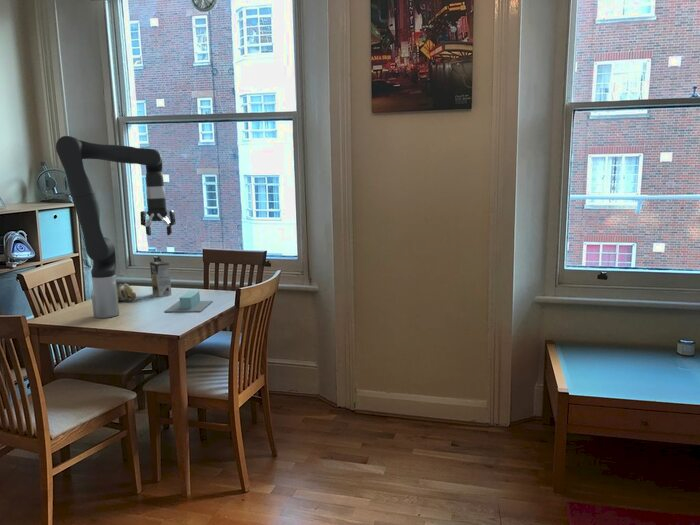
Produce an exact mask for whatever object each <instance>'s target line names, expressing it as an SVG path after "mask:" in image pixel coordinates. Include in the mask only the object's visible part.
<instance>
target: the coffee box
mask: <svg viewBox="0 0 700 525" xmlns="http://www.w3.org/2000/svg"><path fill="white" fill-rule="evenodd" d="M149 266H150V276H151V287H152V295H155V296H157V297H159V298H161V297H168V295H169V296H171V295H172V286H171V272H170V270H171V269H170V262H166V261H164V260H158V261H151V262H149Z"/></svg>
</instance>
